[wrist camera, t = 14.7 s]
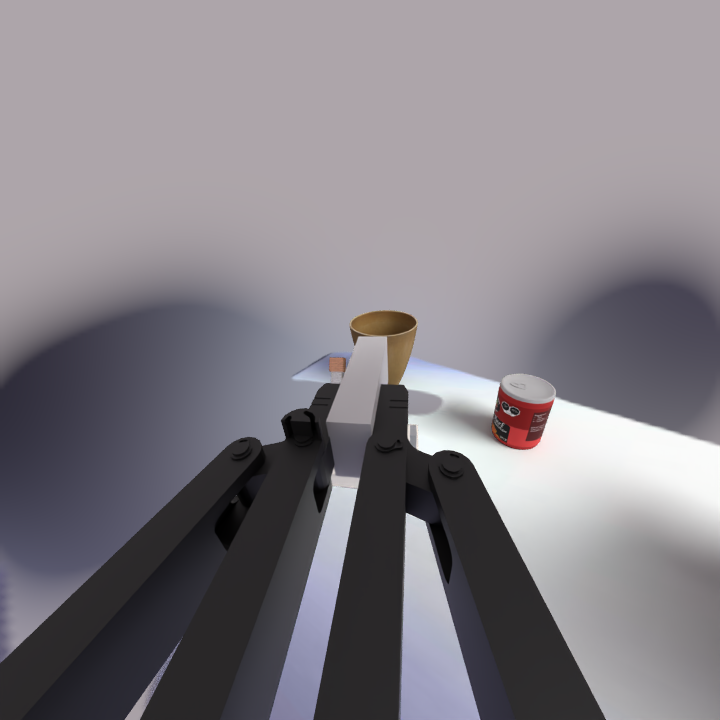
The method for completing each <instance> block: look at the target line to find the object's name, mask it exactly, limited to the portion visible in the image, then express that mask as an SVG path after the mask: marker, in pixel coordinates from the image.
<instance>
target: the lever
mask: <svg viewBox="0 0 720 720" xmlns="http://www.w3.org/2000/svg"><path fill="white" fill-rule="evenodd" d="M329 371H330V372H331V383H336V384H341V381H342V379H343V372H345V371H346V358H331V357H330V362H329Z"/></svg>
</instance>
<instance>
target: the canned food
mask: <svg viewBox="0 0 720 720" xmlns="http://www.w3.org/2000/svg"><path fill="white" fill-rule="evenodd" d="M555 394H556V390H555V388H554V387H553V386H552V385H551V384H550V383H549V382H547V381H545V380H543V379H541V378H538V377H535V376H532V375H527V374H510V375H507V376H505V377H504V378H502V380H501V383H500V387H499V391H498V396H497V401H496V406H495V411H494V416H493V421H492V432H493V434H494V436H495V437H496V438H497V439H498V440H499V441H500V442H501V443H503V444H505V445H507V446H509V447H512V448H515V449H522V450H526V449H531V448H533V447H535V446H536V445H537V444H538V443H539V442H540V439H541V437H542V434H543V431H544V428H545V425H546V422H547V419H548V416H549V413H550V411H551V408H552V405H553V402H554V398H555Z"/></svg>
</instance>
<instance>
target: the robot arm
mask: <svg viewBox="0 0 720 720" xmlns="http://www.w3.org/2000/svg"><path fill="white" fill-rule="evenodd" d="M281 422H282V426H283V429H284V433H285V436H286V439H285V441H283V442H279V443H275V444H270V445H264V446H262V445H261V443H260V440H258V439H256V438H252V437H246V438H241V439H239V440H236V441H234V442H233V443H231V444H230V445H229V446H227V447H226V448H225V449H224V450H223V451H222V452H221V453H220V454H219V455H218V456H217V457H216V458H215V459H214V460H213V461H212V462H210V463H209V465H207V466H206V467H205V468H204V469H203V470H202V471H201V472H200V473H199V474H198V475H197V476H196V477H195V478H194V479H193V480H192V481H191V482H190V483H189V484H187V485H186V486H185V487H184V488H183V489H182V490H181V491H180V492H179V493H178V494H177V495H176V496H175V497H174V498H173V499H172V500H171V501H170V502H169V503H168V504H167V505H166V506H164V507H163V508H162V509H161V510H160V511H159V512H158V513H157V514H156V515H155V516H154V517H153V518H152V519H151V520H150V521H149V522H148V523H147V524H146V525H145V526H144V527H143V528H141V529H140V530H139V531H138V532H137V533H136V534H135V535H134V536H133V537H132V538H131V539H130V540H129V541H128V542H127V543H126V544H125V545H124V546H123V547H122V548H121V549H120V550H118V551H117V552H116V553H115V554H114V555H113V556H112V557H111V558H110V559H109V560H108V561H107V562H106V563H105V564H104V565H103V566H102V567H101V568H100V569H99V570H98V571H97V572H96V573H94V574H93V575H92V576H91V577H90V578H89V579H88V580H87V581H86V582H85V583H84V584H83V585H82V586H81V587H80V588H79V589H78V590H77V591H76V592H75V593H74V594H72V595H71V596H70V597H69V598H68V599H67V600H66V601H65V602H64V603H63V604H62V605H61V606H60V607H59V608H58V609H57V610H56V611H55V612H54V613H53V614H52V615H51V616H49V617H48V619H46V620H45V621H44V622H43V623H42V624H41V625H40V626H39V627H38V628H37V629H36V630H35V631H34V632H33V633H32V634H31V635H30V636H29V637H28V638H26V639H25V640H24V641H23V642H22V643H21V644H20V645H19V646H18V647H17V648H16V649H15V650H14V651H13V652H12V653H11V654H10V655H9V656H8V657H7V658H6V659H5V660H3V661H2V662H1V663H0V720H125V718H126V717H127V715H128V714H129V712H130V711H131V710H132V708H133V707H134V705H135V704H136V702H137V701H138V700H139V698H140V697H141V695H142V694H143V693H144V691H145V690H146V688H147V687H148V685H149V684H150V683H151V681H152V680H153V678H154V677H155V675H156V674H157V673H158V671H159V670H160V668H161V667H162V666H163V664H164V663H165V661H166V660H167V658H168V657H169V656H170V654H171V653H172V651H173V650H174V648H175V647H176V646H177V644H178V643H179V641H180V640H181V638H182V637H183V638H182V640H181V642H180V643H179V645H178V647H177V649H176V651H175V653H174V655H173V657H172V659H171V661H170V663H169V665H168V667H167V669H166V670H165V672H164V674H163V676H162V678H161V680H160V682H159V684H158V686H157V688H156V690H155V692H154V694H153V696H152V697H151V699H150V701H149V703H148V705H147V707H146V709H145V711H144V713H143V715H142V717H141V719H140V720H269V718H270V714H271V711H272V707H273V703H274V700H275V696H276V692H277V689H278V685H279V681H280V678H281V674H282V670H283V667H284V663H285V659H286V656H287V652H288V648H289V645H290V641H291V637H292V634H293V630H294V626H295V623H296V619H297V615H298V612H299V608H300V604H301V601H302V597H303V593H304V590H305V586H306V582H307V579H308V575H309V571H310V568H311V564H312V560H313V557H314V553H315V549H316V546H317V542H318V538H319V535H320V531H321V527H322V524H323V520H324V516H325V513H326V509H327V505H328V502H329V498H330V494H331V491H332V480H331V476H332V472H333V469H334V470H335V475H336V476H343V477H354V478H360V480H359V485H358V490H357V495H356V501H355V506H354V511H353V516H352V521H351V527H350V532H349V537H348V542H347V548H346V553H345V558H344V563H343V568H342V574H341V579H340V584H339V589H338V594H337V600H336V605H335V610H334V615H333V621H332V626H331V631H330V636H329V641H328V647H327V652H326V657H325V662H324V667H323V673H322V678H321V683H320V688H319V693H318V699H317V704H316V709H315V714H314V720H400V710H401V673H402V635H403V598H404V561H405V524H406V513H408V514H411V515H413V516H415V517H417V518H419V519H421V520H424V521H426V525H427V529H428V533H429V536H430V540H431V543H432V547H433V551H434V554H435V558H436V561H437V565H438V569H439V572H440V576H441V579H442V583H443V587H444V590H445V594H446V597H447V601H448V604H449V608H450V612H451V615H452V619H453V622H454V626H455V630H456V633H457V637H458V640H459V644H460V648H461V651H462V655H463V658H464V662H465V665H466V669H467V673H468V676H469V680H470V683H471V687H472V691H473V694H474V698H475V701H476V705H477V709H478V712H479V716H480V719H481V720H606V719H605V717H604V715H603V713H602V711H601V709H600V707H599V705H598V703H597V701H596V700H595V698H594V696H593V694H592V692H591V690H590V688H589V686H588V684H587V682H586V680H585V678H584V676H583V675H582V673H581V671H580V669H579V667H578V665H577V663H576V661H575V659H574V657H573V655H572V653H571V651H570V650H569V648H568V646H567V644H566V642H565V640H564V638H563V636H562V634H561V632H560V630H559V628H558V626H557V625H556V623H555V621H554V619H553V617H552V615H551V613H550V611H549V609H548V607H547V605H546V603H545V602H544V600H543V598H542V596H541V594H540V592H539V590H538V588H537V586H536V584H535V582H534V580H533V578H532V577H531V575H530V573H529V571H528V569H527V567H526V565H525V563H524V561H523V559H522V557H521V555H520V553H519V552H518V550H517V548H516V546H515V544H514V542H513V540H512V538H511V536H510V534H509V532H508V530H507V528H506V527H505V525H504V523H503V521H502V519H501V517H500V515H499V513H498V511H497V509H496V507H495V505H494V503H493V502H492V500H491V498H490V496H489V494H488V492H487V490H486V488H485V486H484V484H483V482H482V480H481V478H480V477H479V475H478V473H477V471H476V469H475V467H474V465H473V464H472V462H471V461H470V460H469V459H468V458H467V457H466V456H464V455H463V454H461V453H458V452H455V451H450V450H443V451H440V452H436V453H435V454H434V455H433V456H431V455H429V454H426V453H423V452H421V451H419V450H417V449H416V448H414V447H413V446H412V445H411V443H410V442H409V440H408V391H407V389H406V388H405V386H404V385H391V384H388V357H387V337H358V339H357V342H356V345H355V347H354V350H353V353H352V355H351V358H350V360H349V363H348V366H347V368H346V371H345V373H344V376H343V379H342V381H341V384H336V383H326V384H324V385H323V386H322V387H321V388H320V389H319V390H318V391H317V394H316V395H315V399H314V400H313V402H312V405H311V406H310V408H309V409H307V408H304V409H297V410H294V411H291V412H290V413H288V414H287V415H285V416H284V417H283V419H282V420H281ZM236 495H237V496H236ZM235 496H236V497H235Z"/></svg>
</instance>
